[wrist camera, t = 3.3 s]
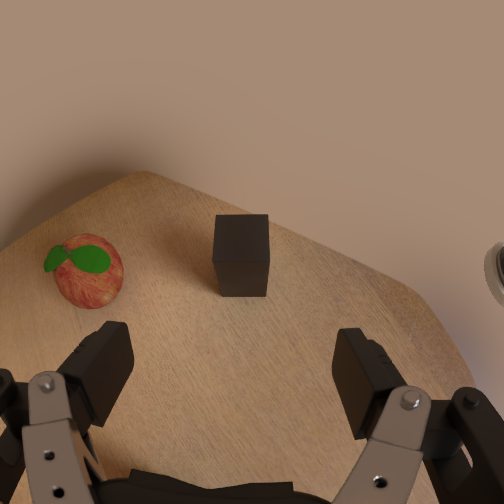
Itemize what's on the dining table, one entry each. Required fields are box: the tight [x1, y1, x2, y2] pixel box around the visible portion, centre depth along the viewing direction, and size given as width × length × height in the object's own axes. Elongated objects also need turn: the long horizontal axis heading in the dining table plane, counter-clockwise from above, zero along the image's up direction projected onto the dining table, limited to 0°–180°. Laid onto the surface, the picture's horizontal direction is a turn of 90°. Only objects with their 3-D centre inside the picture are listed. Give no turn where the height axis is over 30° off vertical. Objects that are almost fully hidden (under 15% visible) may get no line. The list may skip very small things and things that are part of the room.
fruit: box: [44, 234, 124, 309], centre depth 29 cm, size 9×10×10 cm
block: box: [212, 214, 270, 297], centre depth 30 cm, size 5×5×9 cm
